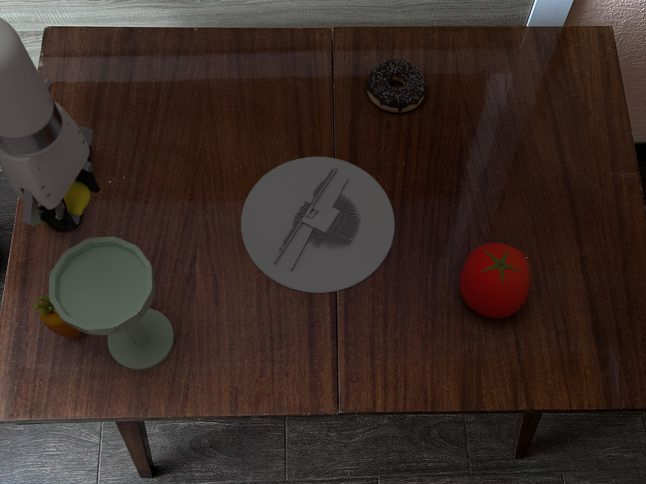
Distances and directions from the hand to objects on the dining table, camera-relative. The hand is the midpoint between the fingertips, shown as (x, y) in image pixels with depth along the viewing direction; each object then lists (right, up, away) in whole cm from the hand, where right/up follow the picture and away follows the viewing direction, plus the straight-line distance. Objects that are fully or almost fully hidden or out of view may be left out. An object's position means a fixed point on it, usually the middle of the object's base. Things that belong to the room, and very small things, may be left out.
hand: (77, 205), depth 93 cm
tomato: (+61, -10, +30) cm, 68 cm away
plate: (+31, +4, +34) cm, 46 cm away
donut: (+46, +31, +44) cm, 71 cm away
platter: (+2, -11, +5) cm, 12 cm away
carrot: (-10, -17, +25) cm, 32 cm away
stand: (+1, -18, +25) cm, 31 cm away
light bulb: (0, 0, +1) cm, 1 cm away
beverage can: (-15, +5, +32) cm, 36 cm away
